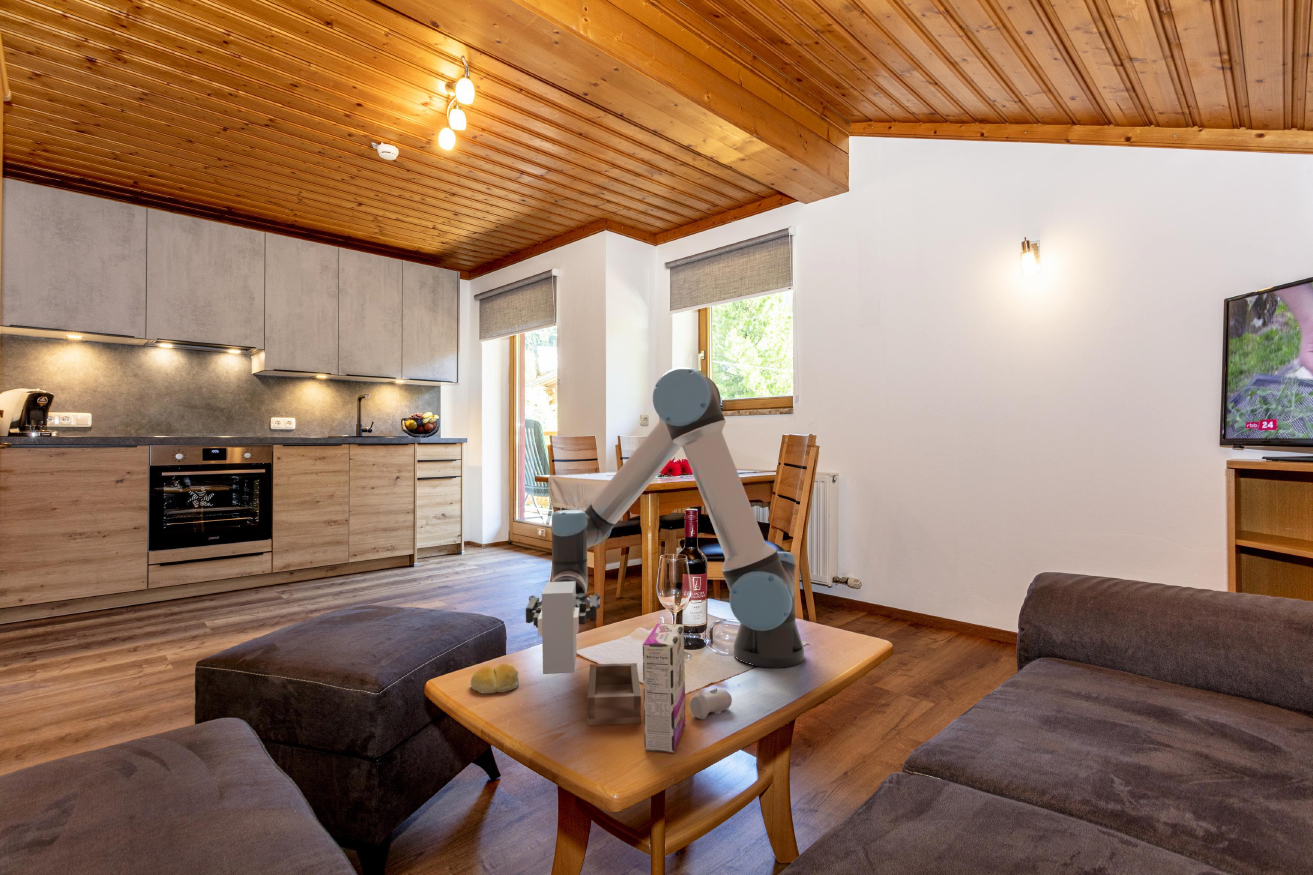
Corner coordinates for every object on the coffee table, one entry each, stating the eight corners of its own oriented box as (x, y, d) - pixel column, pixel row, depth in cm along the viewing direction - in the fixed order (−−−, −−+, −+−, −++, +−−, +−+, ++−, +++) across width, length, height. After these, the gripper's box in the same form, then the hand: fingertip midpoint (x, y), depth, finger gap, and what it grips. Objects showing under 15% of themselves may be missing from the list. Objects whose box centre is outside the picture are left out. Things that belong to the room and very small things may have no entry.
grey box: (576, 654, 112) (575, 581, 112) (573, 672, 103) (572, 592, 103) (548, 656, 112) (547, 582, 112) (542, 674, 103) (541, 593, 103)
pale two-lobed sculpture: (720, 710, 113) (738, 711, 109) (684, 720, 109) (702, 721, 105) (715, 685, 114) (733, 684, 110) (680, 694, 110) (697, 693, 106)
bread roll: (472, 681, 125) (472, 660, 125) (518, 677, 127) (518, 657, 127) (468, 697, 117) (468, 675, 117) (518, 693, 119) (518, 671, 119)
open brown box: (637, 686, 121) (636, 663, 121) (641, 722, 105) (641, 695, 105) (589, 688, 120) (589, 664, 120) (587, 724, 104) (587, 697, 104)
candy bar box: (656, 720, 106) (656, 622, 107) (686, 722, 105) (685, 623, 106) (641, 751, 95) (641, 642, 96) (674, 754, 94) (674, 644, 95)
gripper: (612, 611, 127) (613, 647, 104) (521, 614, 125) (501, 651, 102) (612, 573, 127) (612, 601, 104) (521, 576, 126) (501, 605, 102)
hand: (557, 626), depth 103 cm, fingers closed on grey box, 5 cm apart
